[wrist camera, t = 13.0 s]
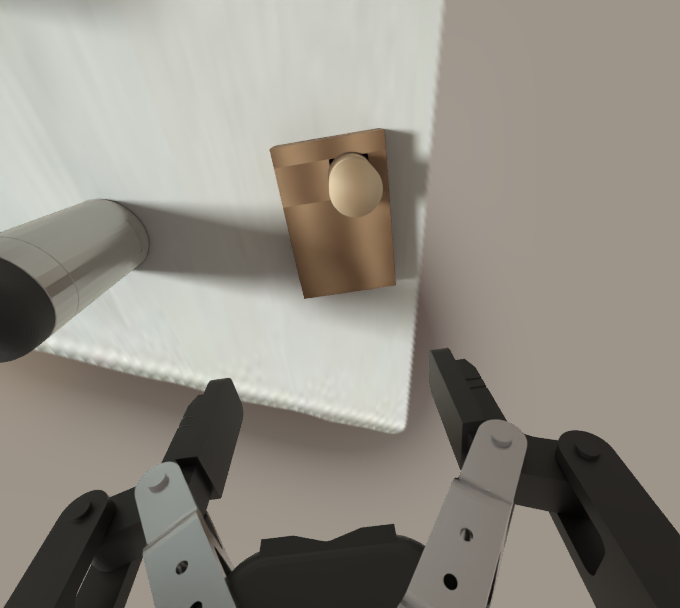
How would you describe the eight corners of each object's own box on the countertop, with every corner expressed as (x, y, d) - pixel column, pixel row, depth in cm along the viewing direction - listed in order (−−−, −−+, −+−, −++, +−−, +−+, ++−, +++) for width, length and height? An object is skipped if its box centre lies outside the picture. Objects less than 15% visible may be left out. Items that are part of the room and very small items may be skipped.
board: (305, 285, 47) (304, 298, 44) (274, 145, 38) (269, 149, 35) (390, 272, 46) (395, 285, 43) (379, 128, 38) (384, 129, 34)
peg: (331, 196, 41) (332, 222, 31) (324, 152, 38) (323, 165, 29) (372, 190, 40) (386, 213, 31) (367, 145, 38) (381, 155, 28)
